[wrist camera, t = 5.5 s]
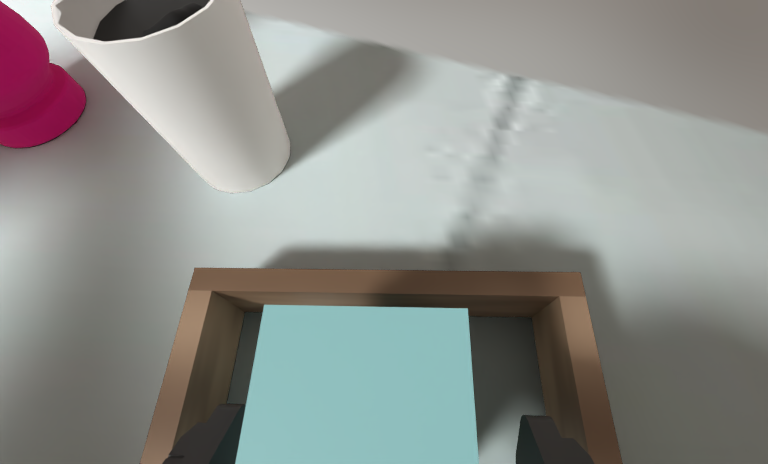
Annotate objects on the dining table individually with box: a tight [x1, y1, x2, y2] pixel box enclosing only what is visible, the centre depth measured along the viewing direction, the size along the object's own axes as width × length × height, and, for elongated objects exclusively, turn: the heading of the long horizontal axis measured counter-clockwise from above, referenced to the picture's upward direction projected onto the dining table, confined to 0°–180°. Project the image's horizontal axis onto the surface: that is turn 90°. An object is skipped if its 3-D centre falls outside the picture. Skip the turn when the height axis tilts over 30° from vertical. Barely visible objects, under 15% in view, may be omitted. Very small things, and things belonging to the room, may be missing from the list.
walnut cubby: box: [140, 268, 623, 464], centre depth 14 cm, size 10×16×4 cm, turn 88°
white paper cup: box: [51, 0, 290, 193], centre depth 18 cm, size 7×7×10 cm
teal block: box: [235, 305, 479, 464], centre depth 12 cm, size 5×5×9 cm
